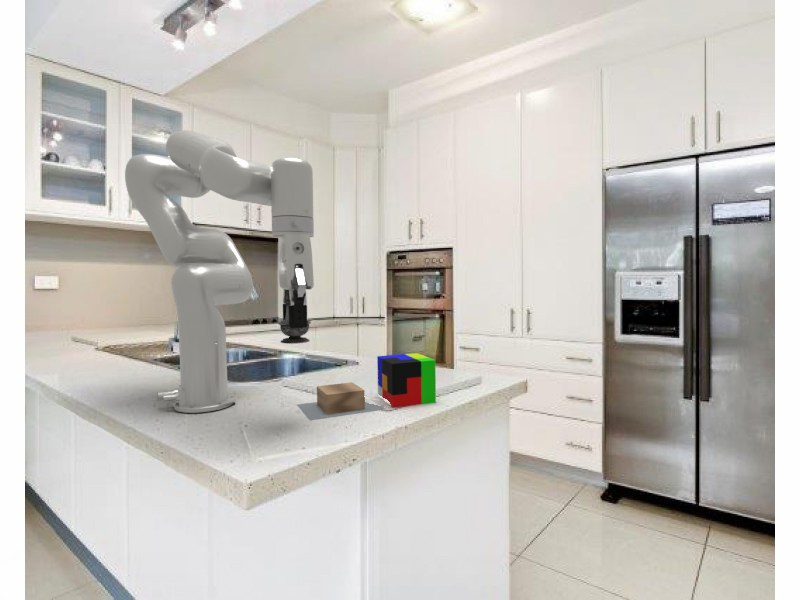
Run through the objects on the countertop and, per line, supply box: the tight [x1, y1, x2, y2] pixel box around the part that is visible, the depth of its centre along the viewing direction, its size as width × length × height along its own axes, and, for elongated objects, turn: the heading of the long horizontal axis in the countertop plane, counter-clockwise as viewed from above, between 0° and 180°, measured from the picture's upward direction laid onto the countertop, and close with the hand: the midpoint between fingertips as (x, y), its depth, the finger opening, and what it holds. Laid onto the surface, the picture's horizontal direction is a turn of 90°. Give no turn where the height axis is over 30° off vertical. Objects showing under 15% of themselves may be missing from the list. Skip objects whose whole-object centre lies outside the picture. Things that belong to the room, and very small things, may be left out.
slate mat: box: [296, 401, 386, 421], centre depth 96 cm, size 16×12×1 cm
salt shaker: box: [278, 287, 312, 345], centre depth 84 cm, size 6×6×12 cm
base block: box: [316, 381, 365, 415], centre depth 96 cm, size 8×8×4 cm
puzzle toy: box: [376, 352, 437, 409], centre depth 101 cm, size 10×10×10 cm
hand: (294, 324), depth 84 cm, fingers closed on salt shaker, 5 cm apart
